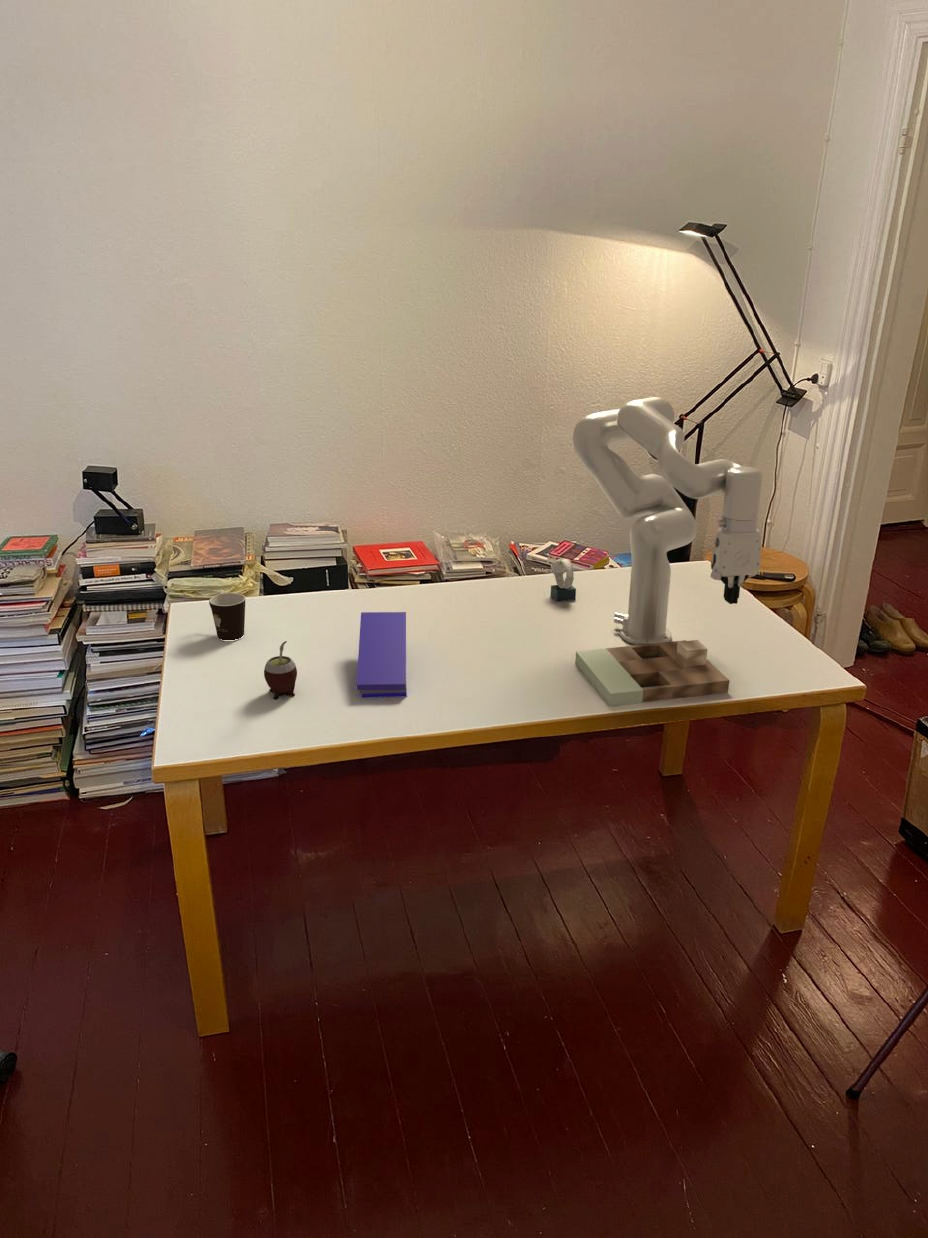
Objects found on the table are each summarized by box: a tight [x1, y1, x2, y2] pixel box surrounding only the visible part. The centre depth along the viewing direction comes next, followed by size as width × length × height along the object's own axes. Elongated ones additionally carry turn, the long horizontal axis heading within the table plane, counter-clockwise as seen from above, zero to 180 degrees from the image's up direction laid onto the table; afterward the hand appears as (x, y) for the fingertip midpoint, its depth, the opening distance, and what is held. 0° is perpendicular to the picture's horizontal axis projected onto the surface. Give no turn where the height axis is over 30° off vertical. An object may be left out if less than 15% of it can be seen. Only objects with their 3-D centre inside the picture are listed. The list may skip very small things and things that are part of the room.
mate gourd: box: [263, 640, 298, 701], centre depth 217 cm, size 8×8×15 cm
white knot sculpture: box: [550, 557, 577, 603], centre depth 271 cm, size 6×8×11 cm
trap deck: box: [606, 640, 731, 703], centre depth 229 cm, size 20×22×3 cm
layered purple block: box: [356, 611, 408, 699], centre depth 229 cm, size 12×28×10 cm, turn 5°
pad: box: [574, 647, 643, 707], centre depth 226 cm, size 8×22×3 cm, turn 14°
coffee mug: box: [208, 592, 246, 640], centre depth 247 cm, size 12×9×10 cm
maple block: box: [676, 639, 708, 667], centre depth 229 cm, size 5×5×4 cm
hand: (730, 601), depth 226 cm, fingers closed
